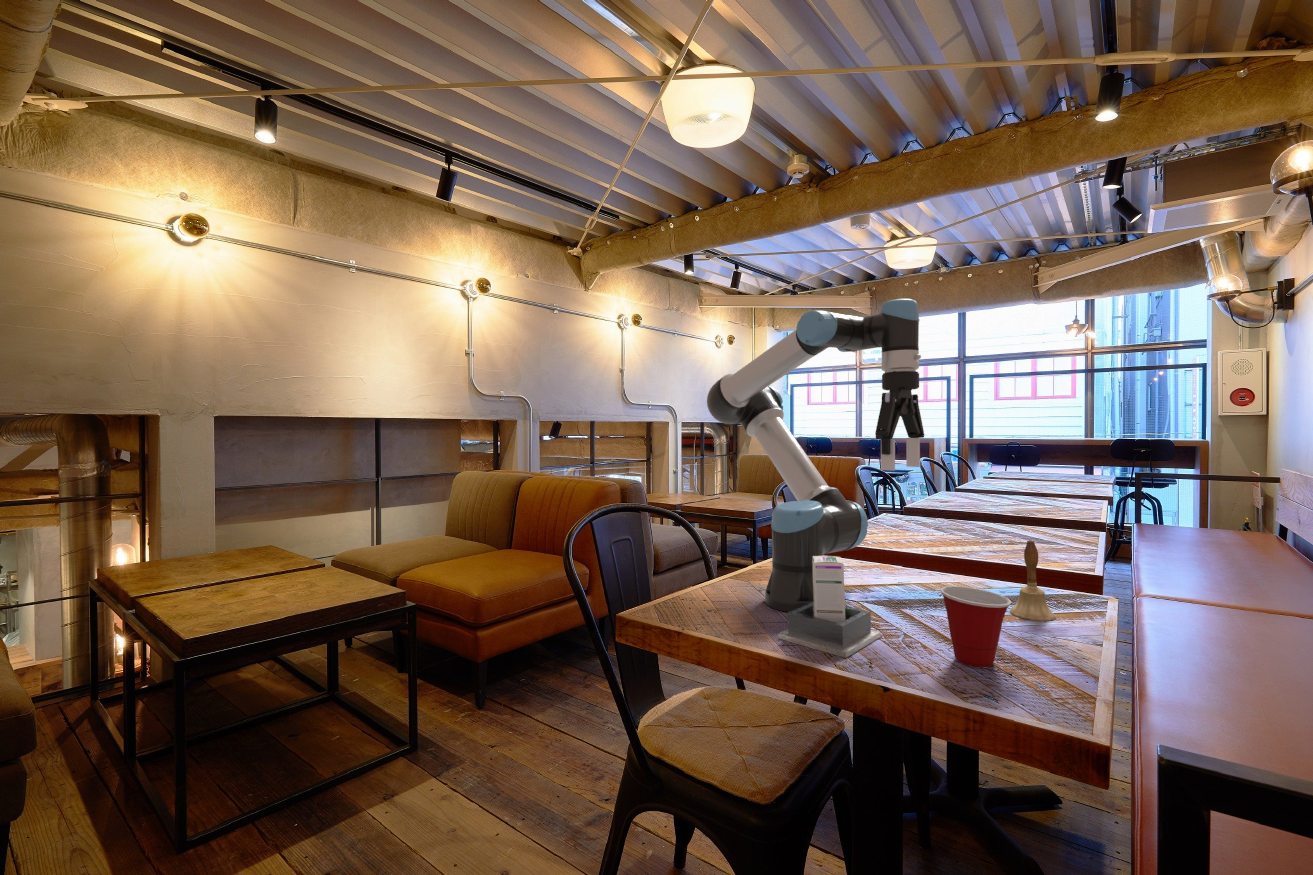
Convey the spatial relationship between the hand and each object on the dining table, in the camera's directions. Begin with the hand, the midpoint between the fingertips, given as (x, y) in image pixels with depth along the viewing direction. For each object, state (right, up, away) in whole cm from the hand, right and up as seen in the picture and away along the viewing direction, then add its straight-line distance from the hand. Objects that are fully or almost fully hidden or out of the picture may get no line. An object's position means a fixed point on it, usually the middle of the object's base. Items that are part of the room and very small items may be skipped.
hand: (901, 468), depth 126 cm
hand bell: (+27, -32, -2) cm, 42 cm away
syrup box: (-20, -31, -15) cm, 40 cm away
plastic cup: (+2, -32, -27) cm, 42 cm away
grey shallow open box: (-20, -32, -14) cm, 41 cm away
